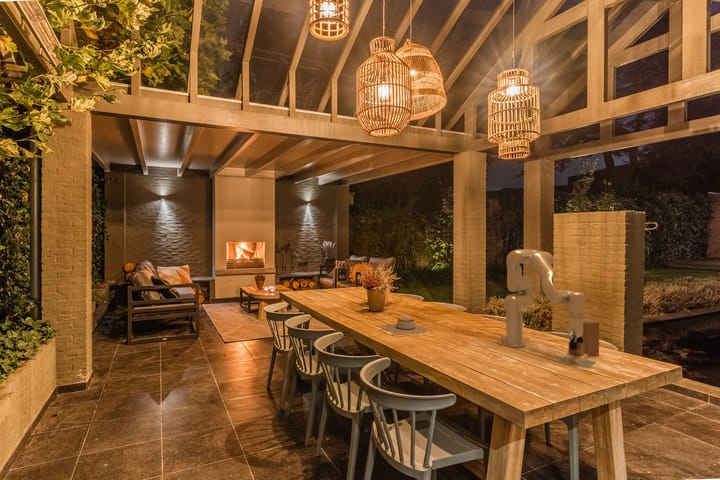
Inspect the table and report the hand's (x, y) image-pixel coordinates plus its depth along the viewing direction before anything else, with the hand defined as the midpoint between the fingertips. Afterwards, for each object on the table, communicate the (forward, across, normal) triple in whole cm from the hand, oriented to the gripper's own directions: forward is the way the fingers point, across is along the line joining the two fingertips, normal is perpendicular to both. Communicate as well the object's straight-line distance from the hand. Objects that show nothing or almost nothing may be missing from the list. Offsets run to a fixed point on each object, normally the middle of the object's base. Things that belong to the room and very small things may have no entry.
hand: (576, 347), depth 210 cm
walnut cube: (+4, 0, 0) cm, 4 cm away
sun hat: (+11, +5, -112) cm, 113 cm away
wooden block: (+9, -19, -1) cm, 21 cm away
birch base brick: (+8, 0, 0) cm, 8 cm away
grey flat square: (+8, 0, 0) cm, 8 cm away
